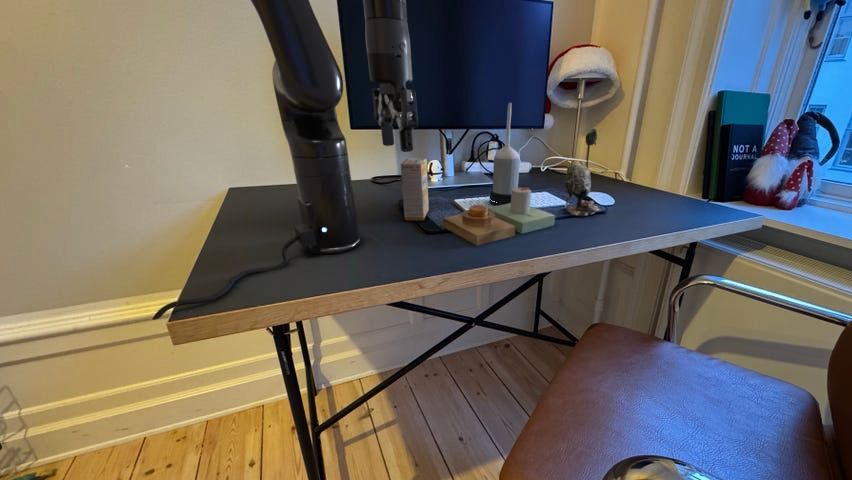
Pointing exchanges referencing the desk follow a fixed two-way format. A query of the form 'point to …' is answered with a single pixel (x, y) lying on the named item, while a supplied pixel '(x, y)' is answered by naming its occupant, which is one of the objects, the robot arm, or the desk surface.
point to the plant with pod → (581, 183)
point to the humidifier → (505, 170)
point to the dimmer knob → (520, 200)
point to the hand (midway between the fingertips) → (397, 148)
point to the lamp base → (479, 227)
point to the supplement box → (415, 188)
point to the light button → (478, 211)
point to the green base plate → (524, 218)
